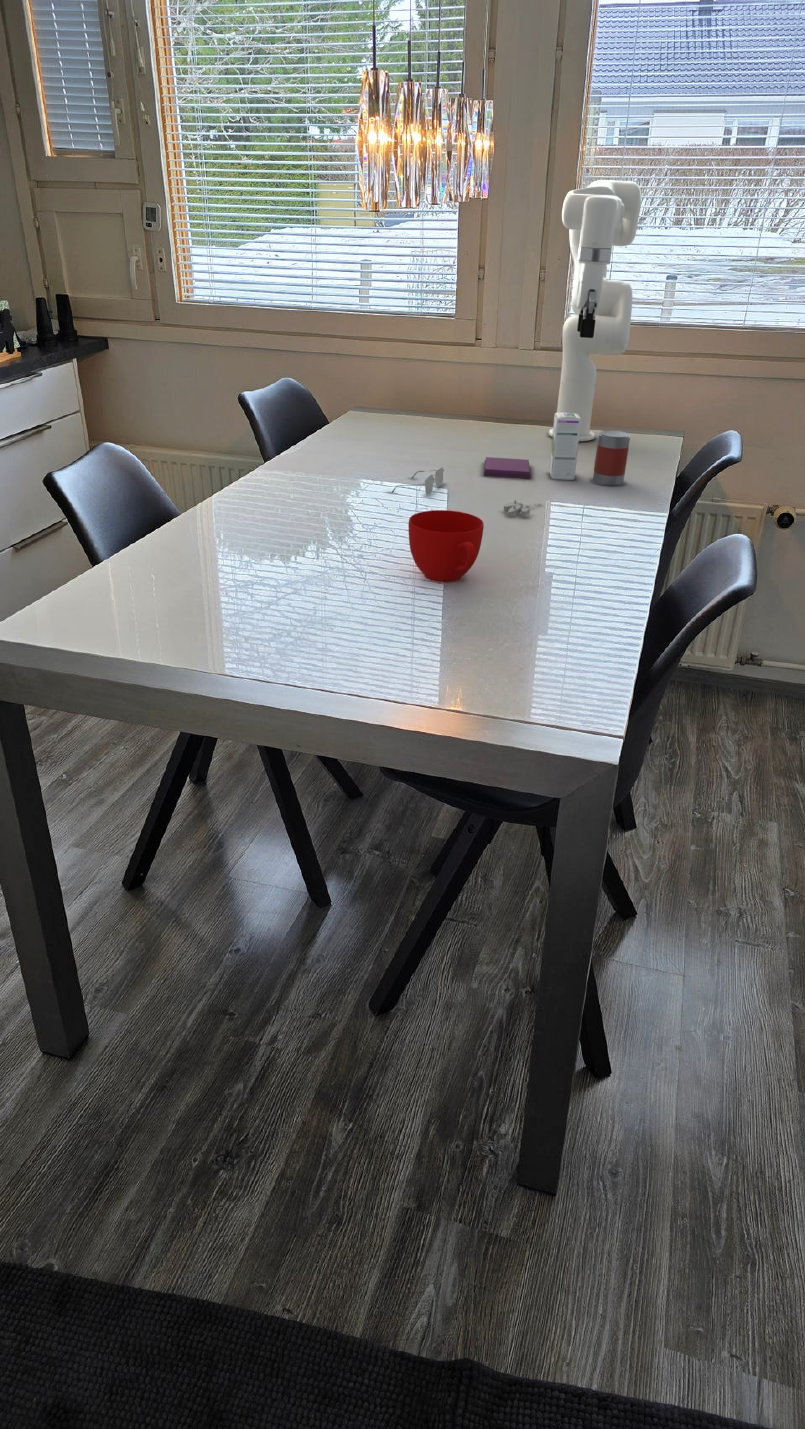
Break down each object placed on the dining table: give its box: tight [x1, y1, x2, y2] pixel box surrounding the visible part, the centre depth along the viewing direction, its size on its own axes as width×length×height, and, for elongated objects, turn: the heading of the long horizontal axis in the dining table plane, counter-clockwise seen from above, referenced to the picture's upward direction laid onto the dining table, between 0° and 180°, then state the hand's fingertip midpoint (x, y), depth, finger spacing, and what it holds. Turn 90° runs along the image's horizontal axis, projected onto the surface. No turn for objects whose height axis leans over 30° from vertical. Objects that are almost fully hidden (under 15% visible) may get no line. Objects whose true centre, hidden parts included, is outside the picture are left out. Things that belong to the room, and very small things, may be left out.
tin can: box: [592, 430, 631, 487], centre depth 235 cm, size 7×7×11 cm
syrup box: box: [548, 412, 581, 481], centre depth 237 cm, size 6×6×14 cm
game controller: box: [503, 499, 541, 518], centre depth 213 cm, size 6×12×3 cm, turn 158°
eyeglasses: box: [391, 467, 445, 496], centre depth 226 cm, size 14×8×4 cm, turn 160°
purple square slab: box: [483, 456, 531, 480], centre depth 242 cm, size 12×11×2 cm
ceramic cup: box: [408, 509, 485, 583], centre depth 173 cm, size 13×17×10 cm
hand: (585, 334), depth 240 cm, fingers open, 9 cm apart
